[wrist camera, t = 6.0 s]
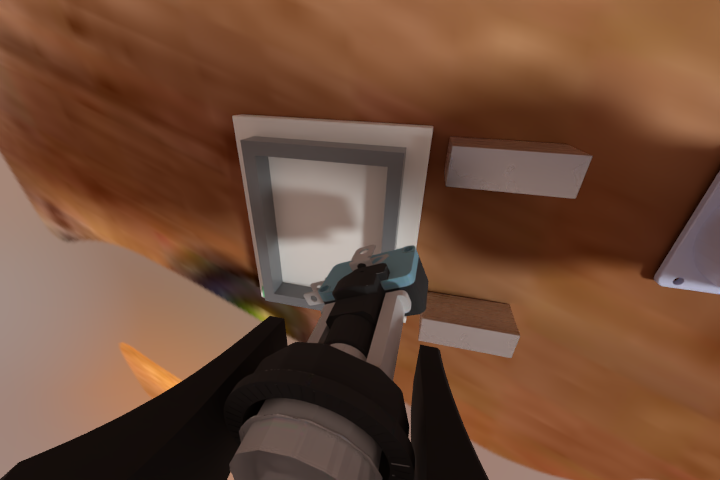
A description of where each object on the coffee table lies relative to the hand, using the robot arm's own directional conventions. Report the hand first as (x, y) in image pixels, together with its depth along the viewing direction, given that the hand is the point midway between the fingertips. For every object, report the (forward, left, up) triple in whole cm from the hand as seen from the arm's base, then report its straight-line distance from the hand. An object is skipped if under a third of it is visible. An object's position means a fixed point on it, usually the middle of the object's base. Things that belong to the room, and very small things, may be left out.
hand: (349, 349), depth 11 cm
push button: (0, 0, -5) cm, 5 cm away
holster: (-6, 0, -10) cm, 12 cm away
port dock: (+4, 0, -10) cm, 11 cm away
